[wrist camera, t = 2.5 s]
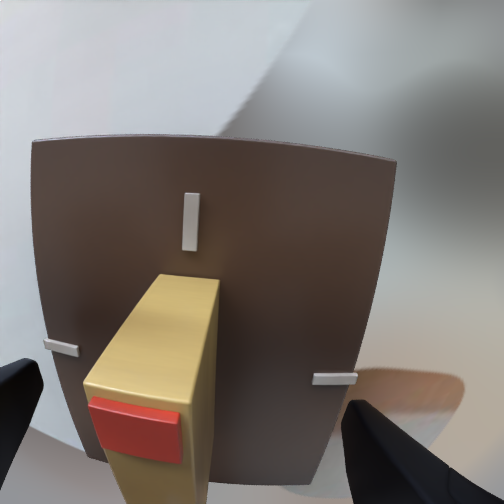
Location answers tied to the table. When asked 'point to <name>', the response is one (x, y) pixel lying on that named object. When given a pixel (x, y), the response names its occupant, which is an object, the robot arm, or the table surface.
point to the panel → (218, 275)
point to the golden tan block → (160, 393)
